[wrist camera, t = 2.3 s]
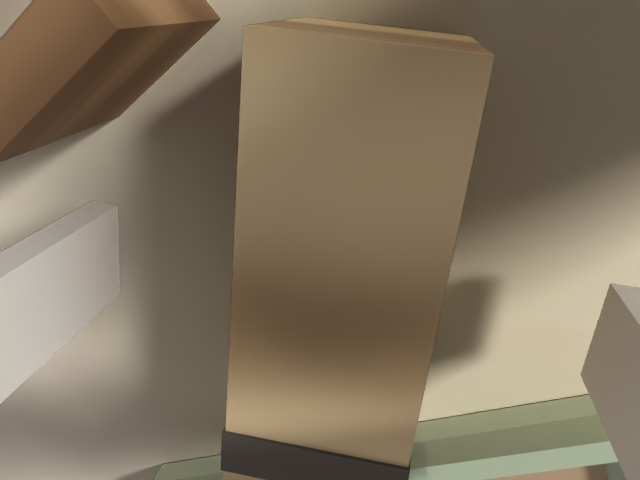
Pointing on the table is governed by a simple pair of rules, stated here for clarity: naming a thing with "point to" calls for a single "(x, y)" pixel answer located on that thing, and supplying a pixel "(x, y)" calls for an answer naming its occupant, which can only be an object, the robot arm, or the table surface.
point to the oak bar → (343, 241)
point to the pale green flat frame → (490, 447)
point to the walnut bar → (85, 61)
